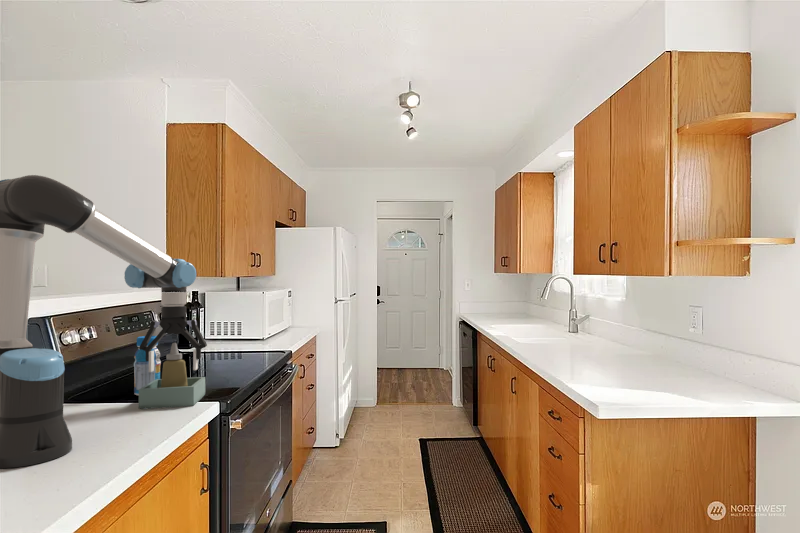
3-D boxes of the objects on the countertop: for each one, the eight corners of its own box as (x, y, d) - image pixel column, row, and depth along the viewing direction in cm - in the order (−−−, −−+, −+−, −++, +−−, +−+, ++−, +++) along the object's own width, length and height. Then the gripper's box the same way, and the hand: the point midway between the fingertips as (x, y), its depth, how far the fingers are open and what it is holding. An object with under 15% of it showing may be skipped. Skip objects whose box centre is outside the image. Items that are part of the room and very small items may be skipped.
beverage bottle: (140, 397, 162) (140, 338, 163) (129, 394, 168) (129, 337, 168) (165, 392, 169) (165, 336, 170) (153, 389, 174) (153, 334, 175)
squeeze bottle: (180, 401, 152) (180, 344, 152) (155, 401, 152) (155, 344, 153) (192, 395, 160) (192, 341, 160) (168, 395, 160) (168, 341, 161)
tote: (193, 405, 149) (193, 386, 150) (138, 409, 147) (138, 389, 147) (205, 394, 165) (205, 377, 165) (155, 397, 162) (155, 379, 163)
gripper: (216, 304, 163) (215, 367, 162) (137, 305, 159) (136, 370, 158) (211, 305, 155) (211, 370, 154) (128, 306, 151) (127, 374, 150)
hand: (173, 370), depth 156 cm, fingers open, 13 cm apart
